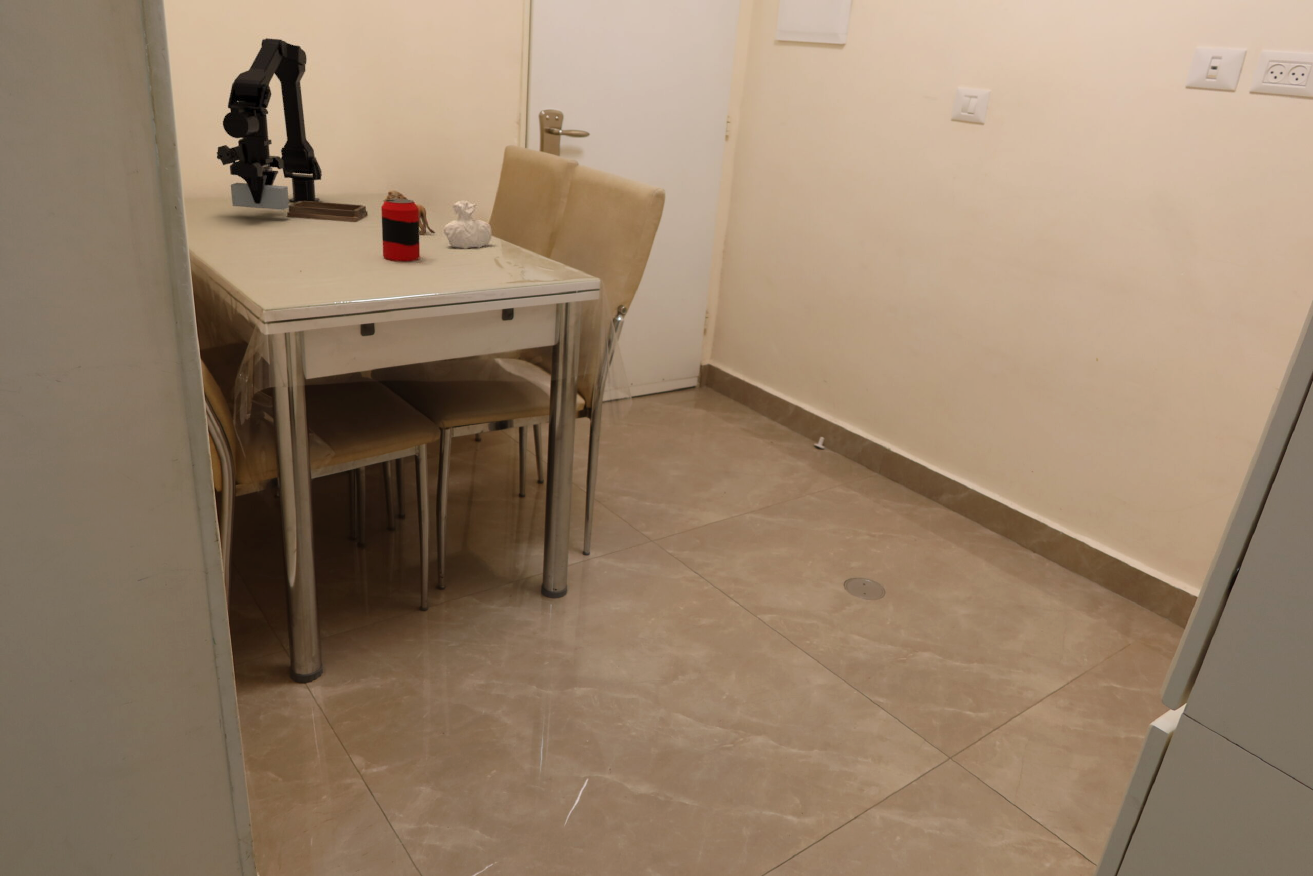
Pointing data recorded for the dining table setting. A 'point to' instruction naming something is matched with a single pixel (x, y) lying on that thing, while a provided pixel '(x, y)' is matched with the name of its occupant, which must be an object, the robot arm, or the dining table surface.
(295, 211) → the brown wooden tray
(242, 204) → the grey block
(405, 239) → the soda can
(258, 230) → the dining table surface
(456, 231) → the white tied bag
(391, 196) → the lion figurine
